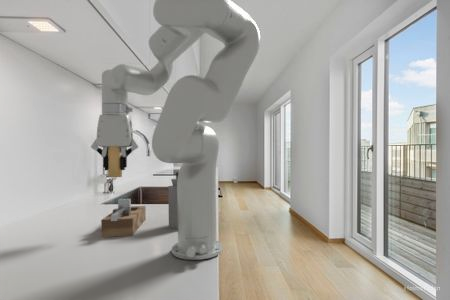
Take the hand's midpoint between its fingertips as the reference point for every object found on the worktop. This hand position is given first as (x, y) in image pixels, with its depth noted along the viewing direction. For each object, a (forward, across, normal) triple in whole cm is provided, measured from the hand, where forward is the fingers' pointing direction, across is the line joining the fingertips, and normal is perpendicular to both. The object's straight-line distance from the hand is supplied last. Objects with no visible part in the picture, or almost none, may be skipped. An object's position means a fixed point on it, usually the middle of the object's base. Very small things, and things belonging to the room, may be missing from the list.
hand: (115, 169), depth 87 cm
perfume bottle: (+20, -21, -4) cm, 29 cm away
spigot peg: (+2, 0, 0) cm, 2 cm away
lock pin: (+15, -2, +1) cm, 15 cm away
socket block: (+20, -2, -6) cm, 21 cm away
